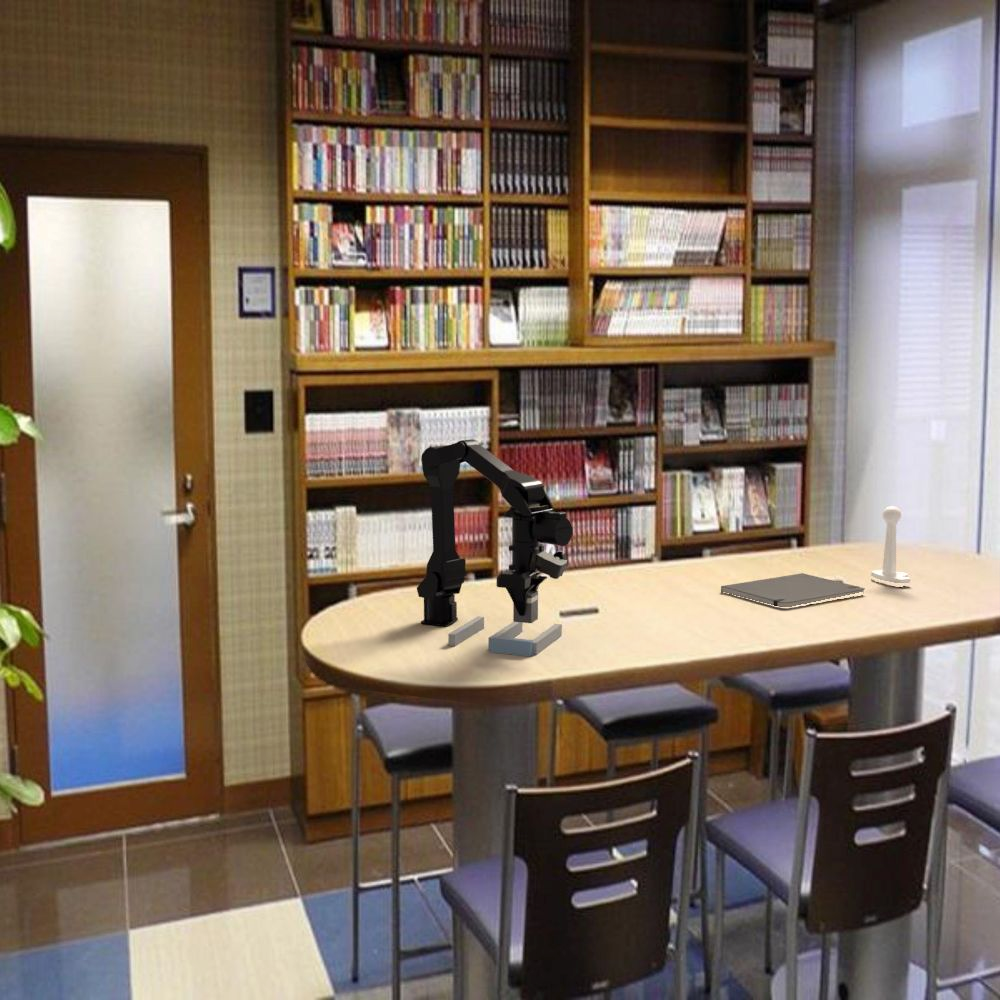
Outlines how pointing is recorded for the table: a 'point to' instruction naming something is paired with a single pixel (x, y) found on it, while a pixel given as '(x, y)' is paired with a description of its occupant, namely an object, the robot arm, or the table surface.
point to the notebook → (791, 590)
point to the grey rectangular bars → (507, 638)
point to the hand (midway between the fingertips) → (525, 613)
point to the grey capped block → (528, 609)
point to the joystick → (891, 550)
